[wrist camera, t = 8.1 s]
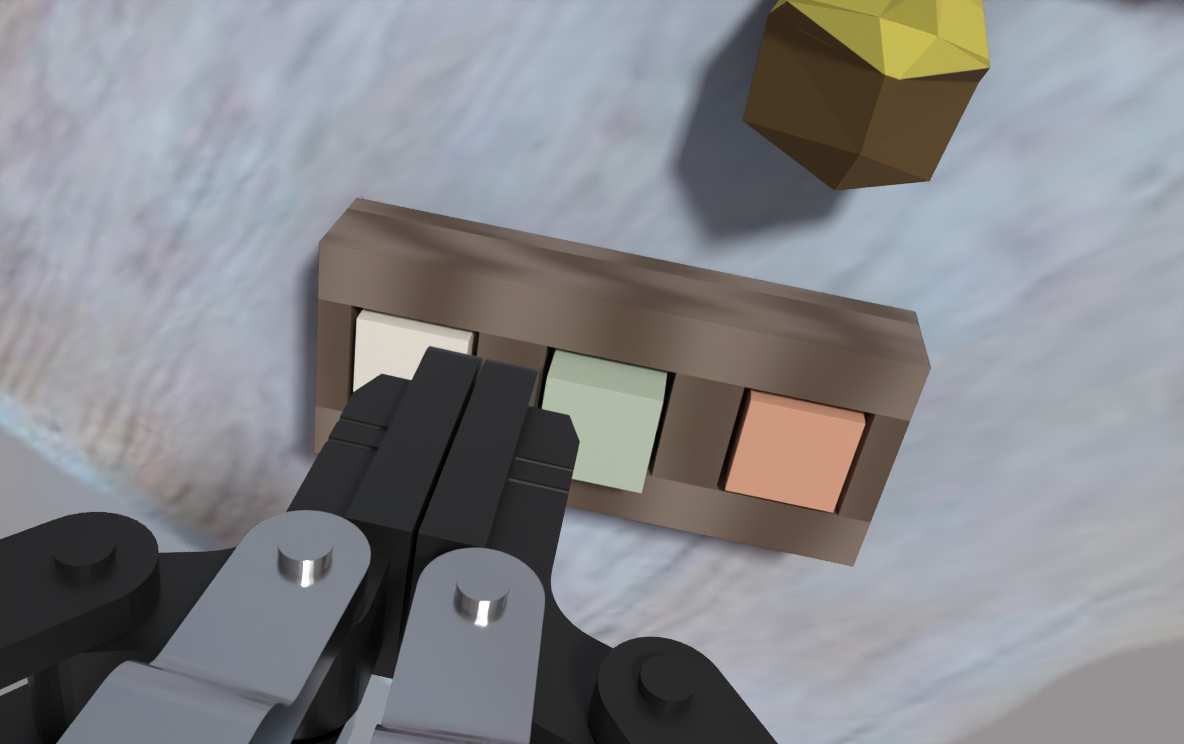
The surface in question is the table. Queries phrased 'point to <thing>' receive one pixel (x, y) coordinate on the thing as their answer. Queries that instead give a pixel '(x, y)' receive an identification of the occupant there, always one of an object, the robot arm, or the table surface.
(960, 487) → the table surface
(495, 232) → the button board
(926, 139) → the toy
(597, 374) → the sage button
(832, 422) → the terracotta button
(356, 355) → the cream button
